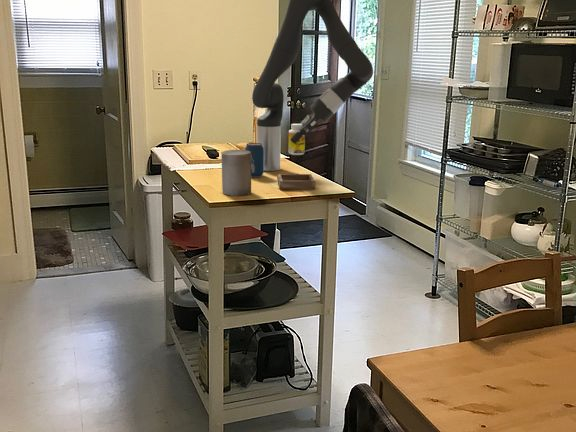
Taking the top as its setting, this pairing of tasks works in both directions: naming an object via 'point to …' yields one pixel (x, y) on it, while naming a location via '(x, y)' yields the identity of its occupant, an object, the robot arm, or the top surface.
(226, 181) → the pillar candle
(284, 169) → the top surface
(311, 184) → the caddy
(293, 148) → the supplement bottle
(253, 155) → the soda can
